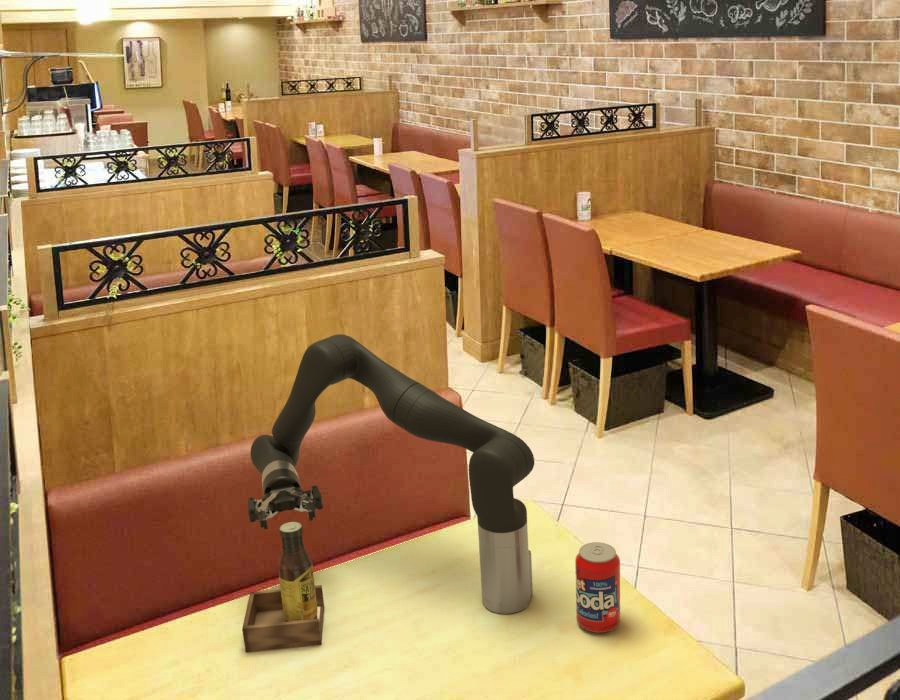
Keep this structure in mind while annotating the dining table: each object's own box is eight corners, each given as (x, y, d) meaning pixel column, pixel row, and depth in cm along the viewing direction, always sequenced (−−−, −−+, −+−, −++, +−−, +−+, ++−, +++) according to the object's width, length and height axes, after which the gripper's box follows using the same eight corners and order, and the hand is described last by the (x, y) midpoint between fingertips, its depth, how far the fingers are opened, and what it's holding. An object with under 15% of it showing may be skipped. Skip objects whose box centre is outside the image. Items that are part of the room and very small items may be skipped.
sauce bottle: (312, 633, 168) (300, 537, 162) (280, 631, 170) (266, 536, 163) (323, 612, 174) (312, 519, 168) (292, 610, 176) (280, 518, 169)
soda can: (623, 613, 170) (623, 542, 165) (616, 639, 163) (616, 565, 158) (581, 607, 173) (580, 537, 168) (572, 632, 166) (571, 560, 161)
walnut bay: (324, 607, 178) (321, 585, 176) (321, 644, 167) (318, 621, 165) (253, 614, 177) (250, 592, 175) (245, 652, 166) (242, 628, 165)
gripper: (243, 474, 186) (247, 510, 171) (313, 461, 189) (323, 495, 174) (248, 507, 188) (252, 545, 173) (318, 494, 191) (328, 530, 176)
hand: (288, 520), depth 174 cm, fingers open, 8 cm apart
